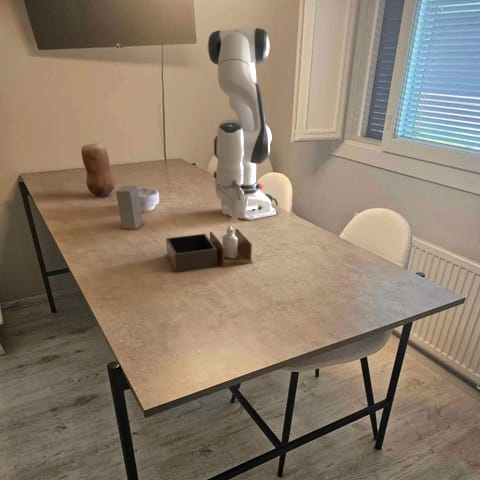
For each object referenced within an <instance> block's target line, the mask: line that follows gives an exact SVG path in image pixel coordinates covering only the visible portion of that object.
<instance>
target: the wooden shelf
mask: <svg viewBox="0 0 480 480" xmlns="http://www.w3.org/2000/svg"><path fill="white" fill-rule="evenodd" d="M234 235H235V236H236V237H237V239H238V253H240V255H242V257H243V258H242V259H241V258H240V259H232V260H228V261H227V260H226V259H225V258H226V257H225V248H224V246H223V243H222V242H221V241H220V240H219V238H218V237H217V236H216V235H215V234H214V232H212V231H210V232H209V240H210V241H211V242H212V244H213V245H214V246H215V247H216V249H217V263H219V264H220V266H221V268H226V267H233V266H240V265H245V264H246V265H247V264H251V263H252V251H253V250H252V249H253V247H252V246H253V244H252V242H251V241H250V240H249V239H248V238H247V237H246V236H245V235H244V234H243V233H242V232H241V231H240V230H239V229H238V228H235V229H234ZM225 260H226V261H225Z"/></svg>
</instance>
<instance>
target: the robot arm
mask: <svg viewBox="0 0 480 480" xmlns="http://www.w3.org/2000/svg"><path fill="white" fill-rule="evenodd" d="M270 46H271V45H270V38H269V36H268V32H267V31H266V30H265V29H263V28H259V27H256V28H250V27H237V28H232V29H231V28H230V29H225V30H219V29H218V30H215V31H213V32H211V33H210V35H209V36H208V41H207V53H208V57H209V60H210V62H212V63H213V64H214V65H217V80H218V81H217V82H218V86H219V88H220V89H221V91H222V92H223V93H224V94H225V95H226V96H227V97H228V104H229V107H230V108H231V110H232V111H234V113H235V114H236V116H237V118H229V119H224V120H222V121H221V122H220V123H219V125H218V128H217V133H216V134H217V135H216V136H215V137H214V138H213V152H214V153H213V155H214V156H215V158H216V159H217V165H216V170H213V178H214V187H215V195H216V198H217V199H218V200H219V201H220V204H221V211H222V214H223V215H227V216H229V217H230V222H231V223H232V224H237V223H238V219H243V220H247V221H252V220H257V219H263V218H267V217H272V216H276V215H277V210H276V209H275V208H274V207H273V206H272V201H274V202H275V205H276V206H278V205H279V204H278V201H277V199H276V198H275V197H273V195H270V194H267V193H264V192H263V191H261V190H263V188H264V185H263V184H262V183H259V182H257V165H260V164H263V163H264V162H266V160H267V159H268V158H269V156H270V152H271V143H272V131H271V128H270V127H269V126H268V125H267V124H266V118H265V110H264V103H263V97H262V90H261V88H260V86H259V85H260V84H258V83H257V70H256V66H257V67H258V66H260V64H262V63H264V62H265V61H266V60H267V59H268V56H269V53H270ZM256 164H257V165H256Z"/></svg>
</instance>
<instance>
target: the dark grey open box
mask: <svg viewBox="0 0 480 480" xmlns="http://www.w3.org/2000/svg"><path fill="white" fill-rule="evenodd" d="M165 244H166V255H167V257H168V259H169V261H170V263H171V266H172V267H173V269H174V271H175V272H176V273H181V272H188V271H193V270H201V269H209V268H216V267H218V260H217V249H216V247H215V246H214V245H213V244H212V242H211V241H210V237H208V235H207V234H206V233H199V234H192V235H184V236H183V235H182V236H174V237H166V238H165Z"/></svg>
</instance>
